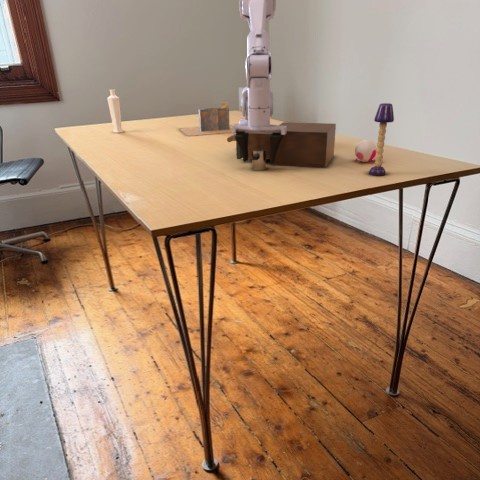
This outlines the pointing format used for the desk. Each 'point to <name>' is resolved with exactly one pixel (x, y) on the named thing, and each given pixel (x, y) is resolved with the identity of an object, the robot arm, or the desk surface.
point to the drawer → (253, 144)
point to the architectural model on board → (211, 122)
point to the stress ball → (365, 151)
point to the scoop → (259, 159)
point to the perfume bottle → (115, 111)
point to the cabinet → (306, 145)
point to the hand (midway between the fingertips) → (259, 161)
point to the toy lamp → (381, 135)
